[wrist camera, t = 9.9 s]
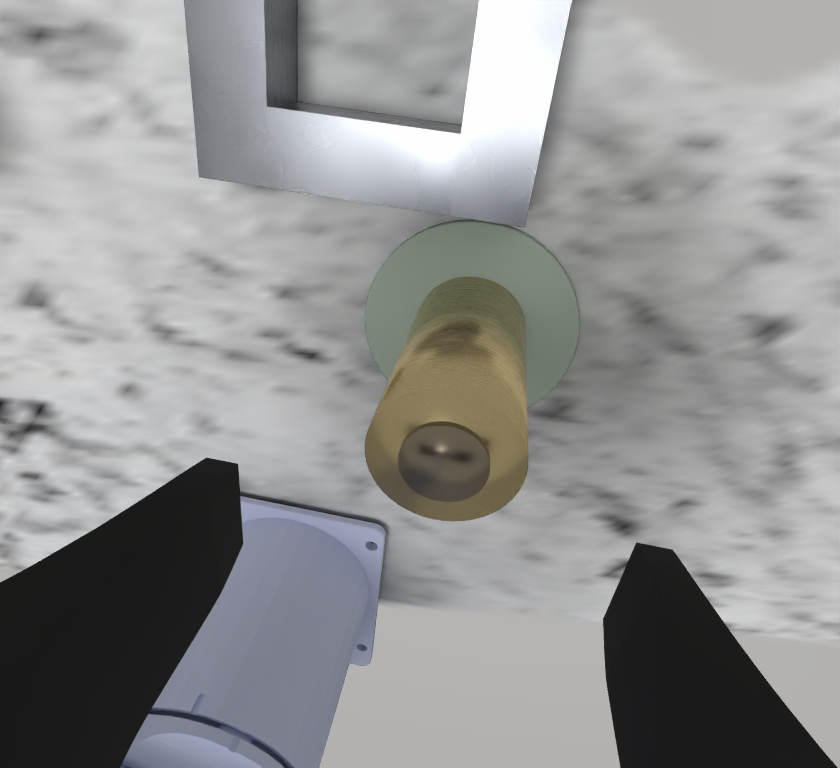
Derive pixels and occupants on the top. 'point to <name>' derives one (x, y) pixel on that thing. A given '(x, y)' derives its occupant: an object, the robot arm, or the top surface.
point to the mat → (487, 258)
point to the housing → (374, 115)
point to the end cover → (455, 406)
